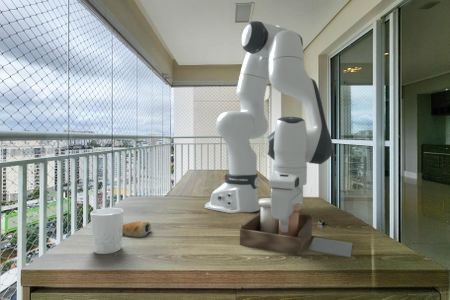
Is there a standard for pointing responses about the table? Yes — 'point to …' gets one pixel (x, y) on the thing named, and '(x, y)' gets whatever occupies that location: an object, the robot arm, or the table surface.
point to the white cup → (107, 230)
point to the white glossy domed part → (267, 217)
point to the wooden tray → (276, 236)
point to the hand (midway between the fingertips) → (288, 227)
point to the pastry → (136, 229)
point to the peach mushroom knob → (292, 223)
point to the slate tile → (331, 247)
